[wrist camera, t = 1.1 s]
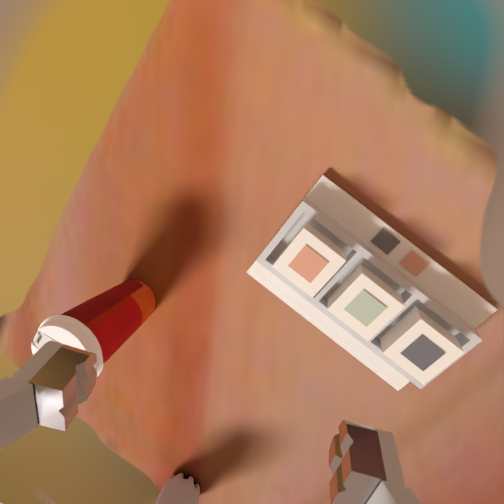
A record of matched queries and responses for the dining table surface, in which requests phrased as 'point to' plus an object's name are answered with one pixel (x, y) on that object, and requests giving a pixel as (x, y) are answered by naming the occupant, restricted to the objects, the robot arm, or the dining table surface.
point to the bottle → (179, 491)
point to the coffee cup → (100, 321)
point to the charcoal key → (420, 346)
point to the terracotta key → (310, 260)
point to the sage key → (365, 302)
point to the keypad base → (379, 263)
